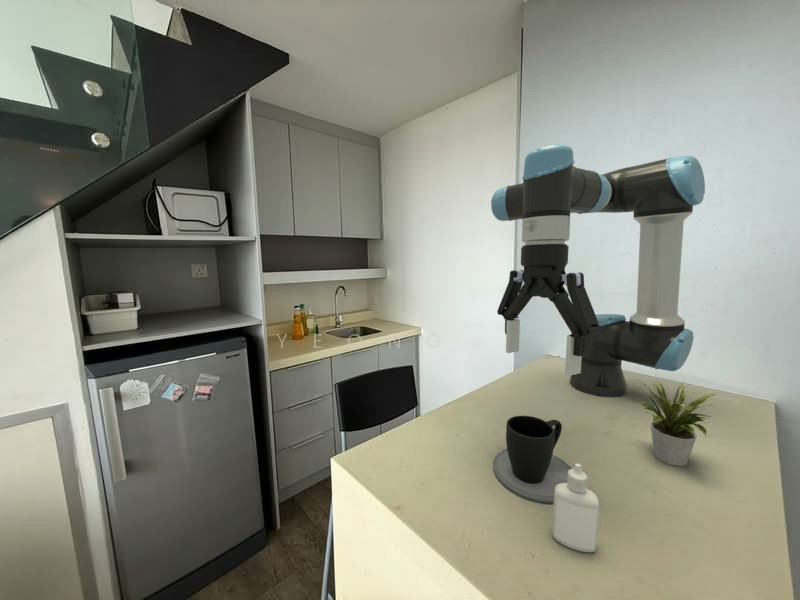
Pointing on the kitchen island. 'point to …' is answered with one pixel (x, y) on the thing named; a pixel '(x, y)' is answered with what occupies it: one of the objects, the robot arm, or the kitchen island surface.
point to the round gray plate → (528, 491)
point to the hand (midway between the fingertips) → (539, 361)
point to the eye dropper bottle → (575, 513)
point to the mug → (531, 446)
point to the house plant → (674, 426)
